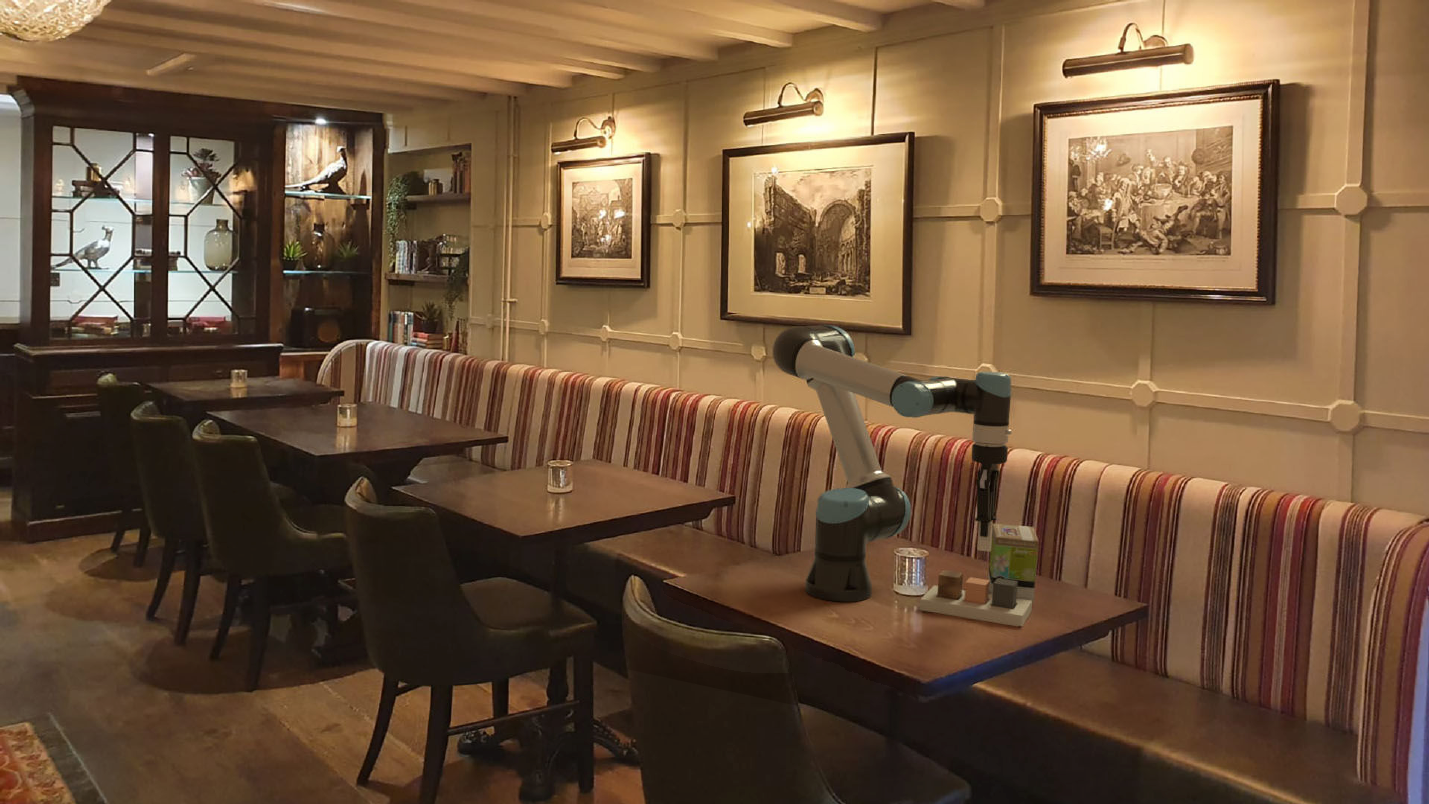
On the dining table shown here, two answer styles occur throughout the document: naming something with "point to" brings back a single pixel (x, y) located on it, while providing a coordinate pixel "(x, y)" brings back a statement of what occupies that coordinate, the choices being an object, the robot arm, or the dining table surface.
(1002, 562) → the tea box
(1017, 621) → the key panel
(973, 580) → the key terracotta
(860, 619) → the dining table surface
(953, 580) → the key walnut
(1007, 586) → the key dark grey
